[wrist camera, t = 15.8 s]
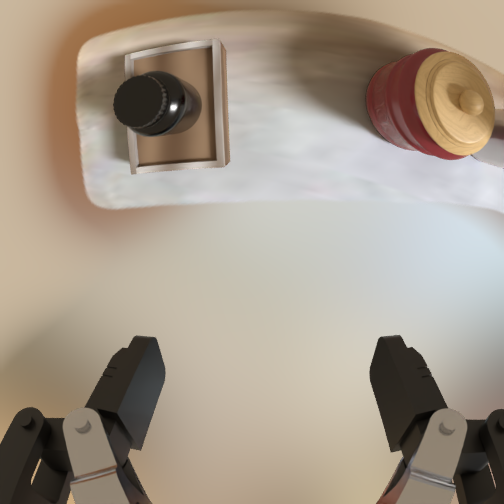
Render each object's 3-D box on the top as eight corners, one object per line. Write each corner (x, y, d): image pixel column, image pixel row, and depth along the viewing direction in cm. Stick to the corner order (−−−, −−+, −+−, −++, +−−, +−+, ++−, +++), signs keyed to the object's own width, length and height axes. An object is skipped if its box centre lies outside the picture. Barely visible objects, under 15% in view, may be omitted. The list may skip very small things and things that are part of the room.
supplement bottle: (160, 142, 34) (115, 152, 23) (143, 94, 31) (93, 86, 20) (211, 122, 33) (185, 120, 22) (193, 72, 30) (160, 50, 19)
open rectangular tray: (225, 50, 33) (219, 38, 27) (230, 161, 39) (224, 167, 34) (142, 62, 34) (124, 55, 28) (148, 167, 40) (131, 174, 35)
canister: (345, 107, 35) (399, 97, 19) (393, 47, 31) (459, 14, 15) (410, 166, 38) (483, 196, 22) (452, 107, 33) (531, 112, 17)
